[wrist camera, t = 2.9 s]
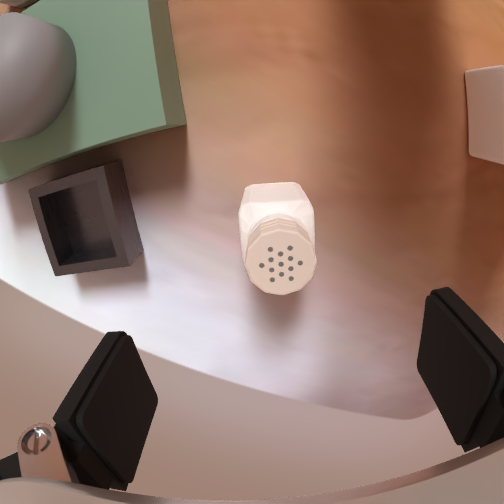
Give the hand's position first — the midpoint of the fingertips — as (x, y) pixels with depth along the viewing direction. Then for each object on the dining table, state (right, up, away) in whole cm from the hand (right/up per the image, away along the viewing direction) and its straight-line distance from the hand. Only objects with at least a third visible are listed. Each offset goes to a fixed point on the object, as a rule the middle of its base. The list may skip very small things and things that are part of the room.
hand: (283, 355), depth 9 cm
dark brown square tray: (-14, +6, +14) cm, 20 cm away
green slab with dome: (-15, +16, +10) cm, 24 cm away
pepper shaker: (+1, +6, +14) cm, 15 cm away
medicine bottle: (+19, +14, +10) cm, 26 cm away
